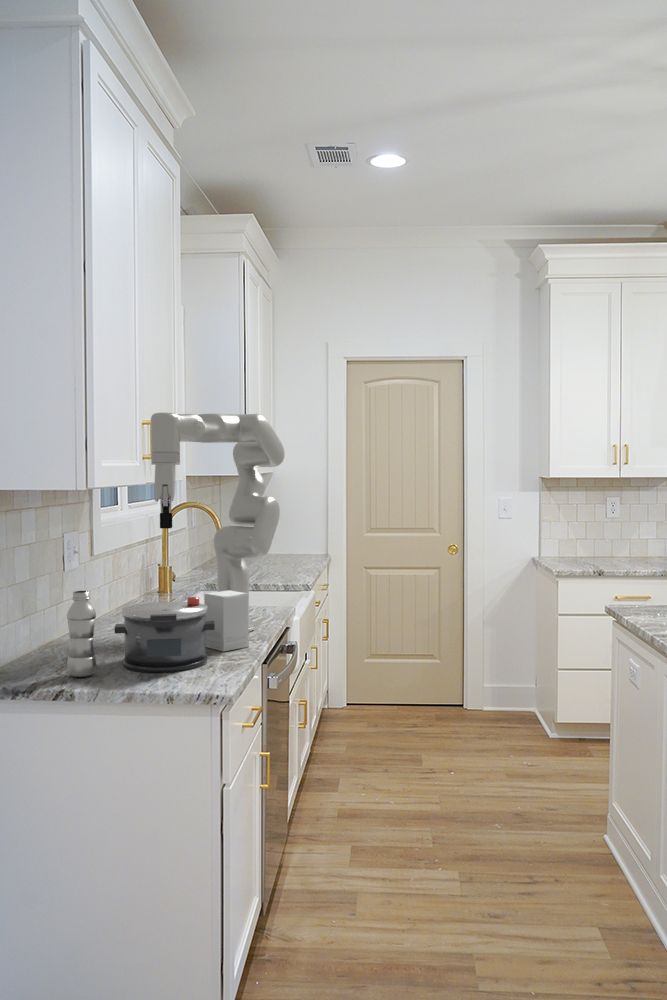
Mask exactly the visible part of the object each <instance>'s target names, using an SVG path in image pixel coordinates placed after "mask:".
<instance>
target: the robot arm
mask: <svg viewBox="0 0 667 1000" xmlns="http://www.w3.org/2000/svg"><path fill="white" fill-rule="evenodd" d="M181 442H183V443H184V442H185V443H186V442H191V443H202V444H204V443H205V444H210V443H212V444H214V443H216V444H218V443H219V444H221V443H223V444H226V443H227V444H228V443H229V444H230V443H232V444H233V443H235V445H234V446H233V448H232V457H233V461H234V464H235V467H236V469H237V471H236V472H237V474H238V475H237V476H238V481H237V482H238V483H237V487H236V490H235V492H234V496H233V498H232V502H231V504H230V506H229V507H230V508H229V509H228V510H229V512H228V519H229V520H230V522H231V523H232V524H234V525H226V526H223V527H221V528H219V529H217V531H216V532H215V534H214V537H213V547H214V553H215V556H216V557H215V558H216V566H217V567H216V568H217V571H216V572H217V575H216V577H217V579H216V580H217V581H216V582H217V592H220V591H227V590H230V591H236V592H242V593H248V606H249V607H250V573H249V572H250V571H249V568H248V565H247V562H246V560H245V559H249V560H250V559H251V560H252V559H253V560H259V559H263V558H265V557H266V556H267V555H268V553H269V551H270V549H271V547H272V546H271V545H272V542H273V541H274V537H275V533H276V530H277V527H278V524H279V521H280V516H281V514H280V513H281V511H280V505H279V502H278V500H277V499H276V498H274V497H272V496H271V495H264V493H265V489H266V483H265V480H264V477H263V476H262V474H261V472H260V470H259V468H275V467H278V466H280V465H281V464H282V463H283V462H284V460H285V455H286V454H285V448H284V445H283V442H282V441H281V440H280V438H279V436H278V434H277V432H276V431H275V429H274V428H273V426H272V425H271V424H270V422H269V421H268V420H267V418H265V417H264V416H263V415H262V414H260V413H246V414H245V413H242V414H241V413H240V414H236V413H234V414H233V413H232V414H228V413H214V412H213V413H201V414H195V413H174V412H155V413H153V414H152V415H151V416H150V451H151V452H150V462H151V463H150V464H151V465H153V466H154V465H155V466H154V502H156V503H158V502H159V500H160V502H159V503H160V513H159V528H160V529H172V528H173V512H172V503H173V502H174V500H175V493H176V466H180V465H181V453H180V452H181ZM252 630H253V631H254V630H255V624H252V623H250V622H249V632H250V633H251V632H252Z"/></svg>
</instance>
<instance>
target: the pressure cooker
mask: <svg viewBox="0 0 667 1000" xmlns="http://www.w3.org/2000/svg"><path fill="white" fill-rule="evenodd" d="M123 618H124V619H123V620H124V622H123V623H115V625H114V634H124V658H123V660H122V666H123V668H124V669H126V670H129V671H132V672H137V673H146V674H150V673H151V674H166V673H178V672H186V671H189V670H194V669H198V668H200V667H202V666H204V665H206V664H207V663H208V654H207V650H206V649H207V647H206V630H215V624H214V621H206V616H205V615H202V616H198V617H193V618H186V619H177V620H175V621H150V620H136V619H129V618H125V617H123Z"/></svg>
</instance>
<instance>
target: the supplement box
mask: <svg viewBox="0 0 667 1000" xmlns="http://www.w3.org/2000/svg"><path fill="white" fill-rule="evenodd" d="M203 597H204V599H203V600H204V603H203V604H205V605H207V614H205V616H206V621H214V624H215V630H206V649H207V648H208V649H211V650H215V651H220V652H228V651H234V650H239V649H243V648H244V649H245V648H249V646H250V643H249V642H250V640H249V639H250V637H249V636H250V635H249V623H250V605H249V606H248V593H242V592H236V591H230V590H227V591H220V592H218V591H212V592H205V593H204V594H203Z"/></svg>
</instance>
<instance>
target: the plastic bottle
mask: <svg viewBox="0 0 667 1000" xmlns="http://www.w3.org/2000/svg"><path fill="white" fill-rule="evenodd" d="M90 599H91V597H90V590H75V591H73V592H72V601H73V603H72V604H71V605H70V607H69V609H68V610H67V613H66V619H67V625H68V632H69V633H68V634H69V635H68V636H69V649H68V657H67V660H66V661H67V662H66V669H67V673H68V674H69V675H70V676H71V677H78V678H84V677H89V676H92V675H93V674H95V672H96V669H97V658H96V655H95V644H94V643H95V642H94V639H95V637H94V636H95V626H96V618H97V612H96V609H95V607H94V606H93V605H92V604H91V603H90Z"/></svg>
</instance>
